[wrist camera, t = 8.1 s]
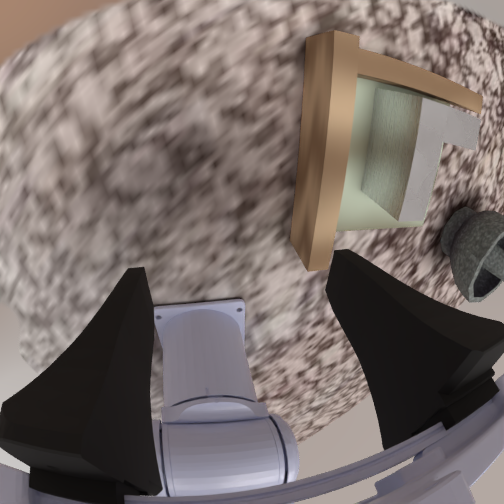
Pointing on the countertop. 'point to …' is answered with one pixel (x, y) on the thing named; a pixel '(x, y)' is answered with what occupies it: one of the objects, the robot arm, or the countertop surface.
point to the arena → (349, 138)
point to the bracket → (410, 150)
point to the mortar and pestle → (475, 251)
